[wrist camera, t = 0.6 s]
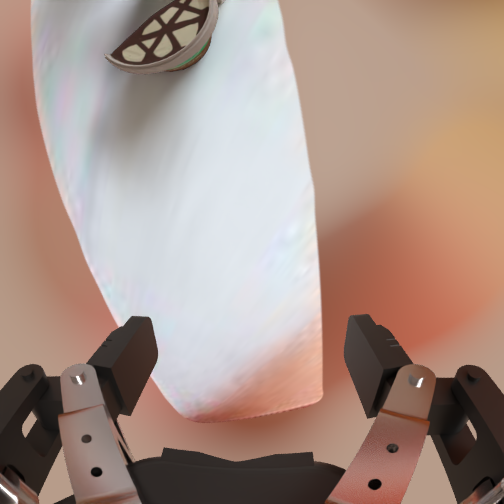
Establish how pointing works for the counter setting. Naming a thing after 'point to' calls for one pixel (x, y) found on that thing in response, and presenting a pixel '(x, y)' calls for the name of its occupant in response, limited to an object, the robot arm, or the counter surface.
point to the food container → (169, 38)
